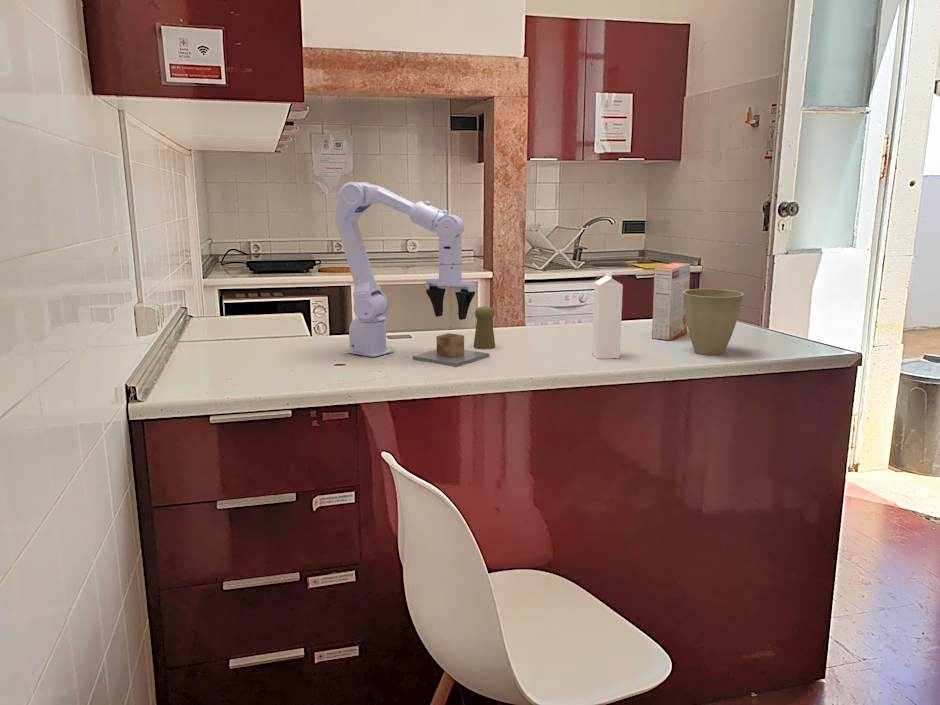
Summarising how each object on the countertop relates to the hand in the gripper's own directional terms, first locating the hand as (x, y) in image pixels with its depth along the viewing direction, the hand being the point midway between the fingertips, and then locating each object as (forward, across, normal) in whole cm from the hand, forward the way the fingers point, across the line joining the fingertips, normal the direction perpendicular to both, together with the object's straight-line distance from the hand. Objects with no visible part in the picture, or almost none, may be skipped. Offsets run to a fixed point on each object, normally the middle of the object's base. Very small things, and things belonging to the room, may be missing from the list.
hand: (450, 317), depth 191 cm
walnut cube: (+10, 0, 0) cm, 10 cm away
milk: (+10, +31, +25) cm, 41 cm away
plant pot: (+10, +51, +45) cm, 69 cm away
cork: (+11, -1, +16) cm, 19 cm away
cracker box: (+10, +34, +60) cm, 70 cm away
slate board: (+10, 0, 0) cm, 10 cm away
